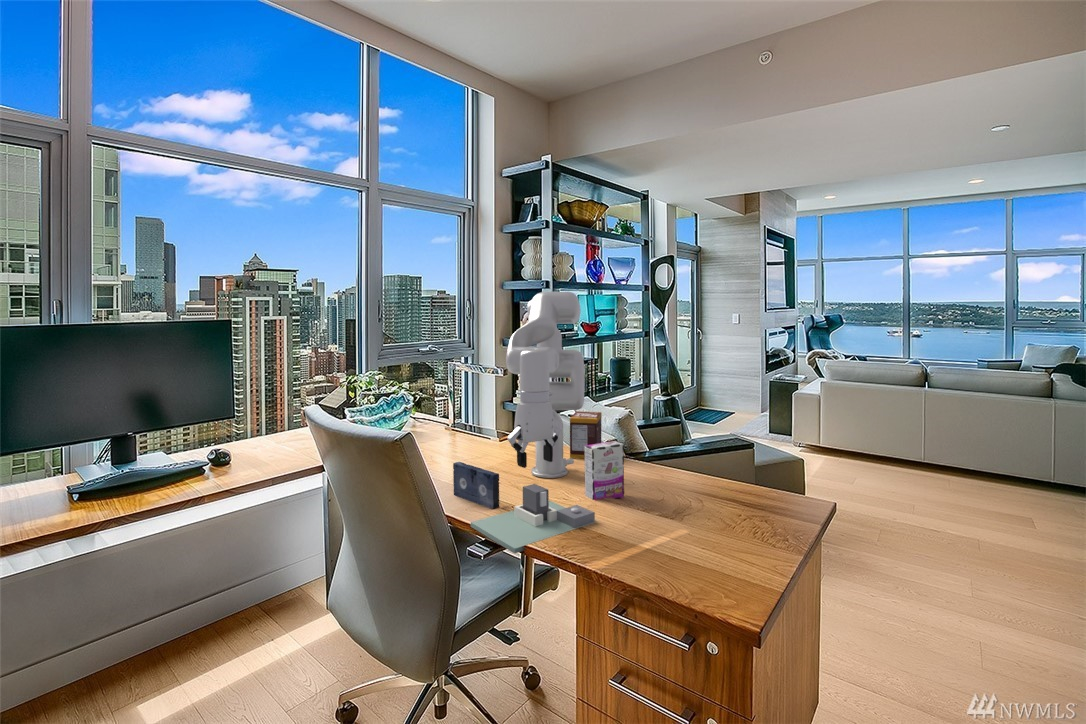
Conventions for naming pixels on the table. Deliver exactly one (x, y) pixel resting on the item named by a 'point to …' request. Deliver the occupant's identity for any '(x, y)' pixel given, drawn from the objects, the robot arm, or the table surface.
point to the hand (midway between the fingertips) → (535, 463)
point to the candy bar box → (604, 470)
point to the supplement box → (584, 432)
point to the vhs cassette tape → (476, 485)
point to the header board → (522, 527)
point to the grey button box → (575, 516)
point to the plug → (536, 500)
